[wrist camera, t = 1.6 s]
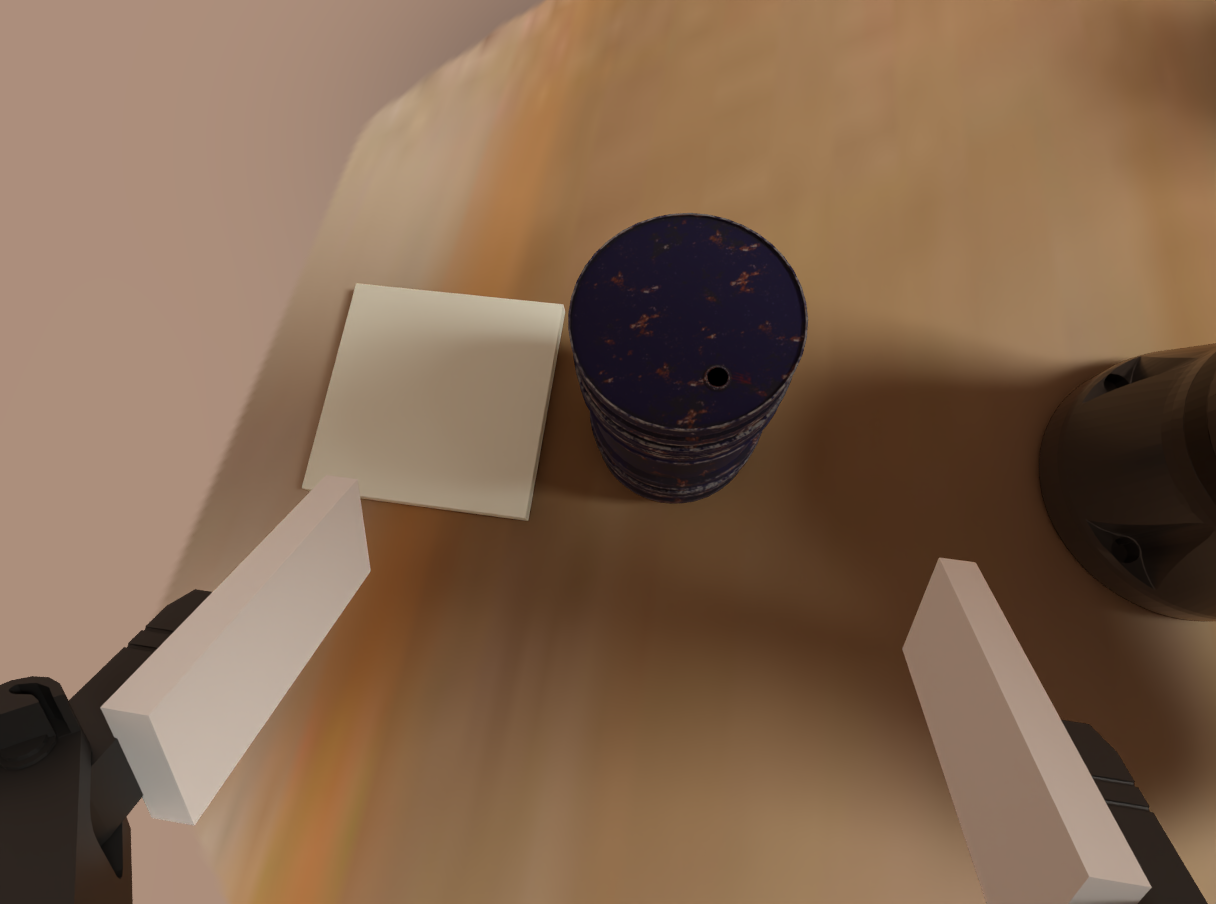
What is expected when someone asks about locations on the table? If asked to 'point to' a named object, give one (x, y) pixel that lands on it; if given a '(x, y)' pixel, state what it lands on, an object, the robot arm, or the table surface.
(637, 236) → the rusty oil drum
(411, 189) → the table surface
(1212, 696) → the table surface
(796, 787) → the table surface
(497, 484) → the placemat
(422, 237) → the table surface
